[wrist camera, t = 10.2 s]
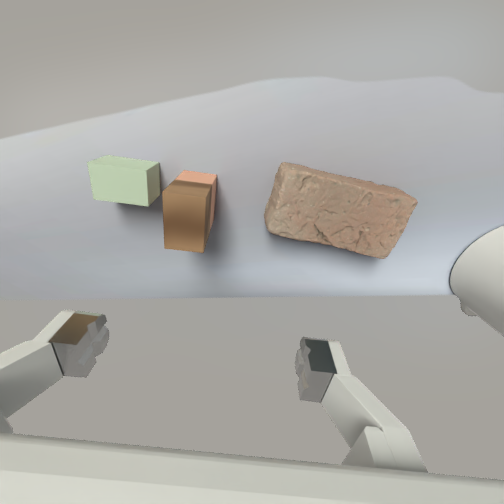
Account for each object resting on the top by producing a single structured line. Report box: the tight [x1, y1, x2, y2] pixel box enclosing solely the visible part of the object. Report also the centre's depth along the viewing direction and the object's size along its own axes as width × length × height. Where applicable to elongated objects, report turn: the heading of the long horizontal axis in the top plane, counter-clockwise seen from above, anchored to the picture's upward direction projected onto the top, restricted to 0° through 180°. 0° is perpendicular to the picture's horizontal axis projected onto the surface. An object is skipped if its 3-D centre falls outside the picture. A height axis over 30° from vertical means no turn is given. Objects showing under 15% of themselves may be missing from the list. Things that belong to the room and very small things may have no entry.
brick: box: [264, 162, 418, 259], centre depth 32 cm, size 17×8×5 cm, turn 77°
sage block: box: [87, 155, 160, 206], centre depth 30 cm, size 6×4×4 cm, turn 82°
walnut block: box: [162, 180, 212, 253], centre depth 27 cm, size 6×4×4 cm, turn 172°
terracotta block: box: [175, 170, 217, 233], centre depth 31 cm, size 6×4×4 cm, turn 172°
